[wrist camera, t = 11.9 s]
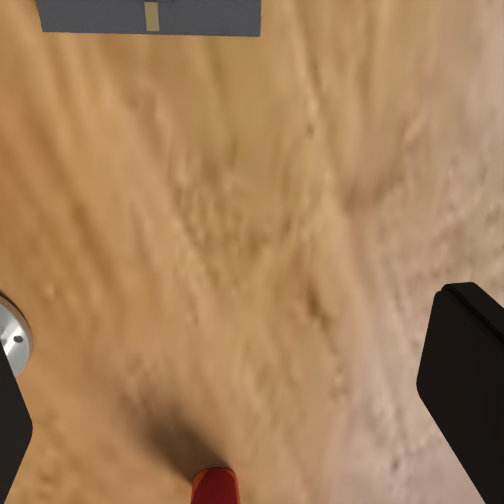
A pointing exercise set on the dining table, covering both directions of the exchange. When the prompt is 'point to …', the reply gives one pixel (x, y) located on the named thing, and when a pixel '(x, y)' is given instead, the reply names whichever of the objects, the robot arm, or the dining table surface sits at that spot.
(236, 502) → the paper cup
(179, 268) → the dining table surface
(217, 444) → the dining table surface
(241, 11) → the socket
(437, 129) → the dining table surface
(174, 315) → the dining table surface
